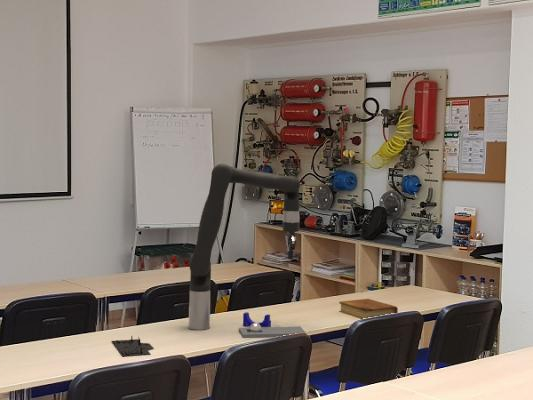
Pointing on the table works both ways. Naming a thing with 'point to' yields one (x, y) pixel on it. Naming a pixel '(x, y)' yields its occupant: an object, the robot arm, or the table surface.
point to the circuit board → (132, 347)
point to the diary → (366, 308)
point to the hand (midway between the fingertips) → (290, 259)
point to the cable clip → (249, 322)
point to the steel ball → (255, 328)
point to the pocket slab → (270, 332)
